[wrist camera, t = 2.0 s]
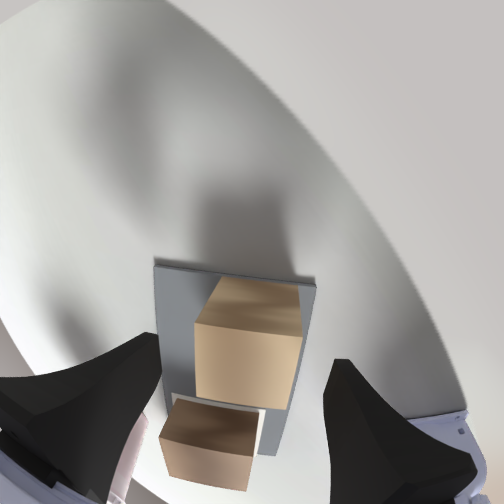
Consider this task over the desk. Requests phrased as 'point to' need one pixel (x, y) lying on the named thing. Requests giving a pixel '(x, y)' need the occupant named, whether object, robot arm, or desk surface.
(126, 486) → the smoothie
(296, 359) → the oak block
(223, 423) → the walnut block
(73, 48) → the desk surface
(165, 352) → the slate mat
